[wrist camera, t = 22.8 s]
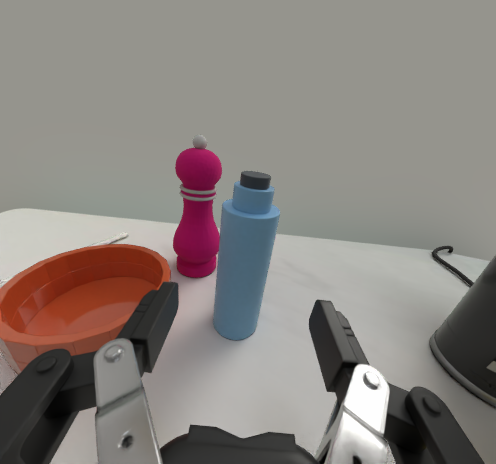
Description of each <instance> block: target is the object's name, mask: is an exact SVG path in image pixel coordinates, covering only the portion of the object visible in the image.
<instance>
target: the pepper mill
mask: <svg viewBox="0 0 496 464" xmlns="http://www.w3.org/2000/svg"><path fill="white" fill-rule="evenodd" d="M193 145H194V147H195V148H190V149H187V150H185V151H183V152H182V153H180V155H179V156H178V158H177V160H176V167H175V169H176V174H177V176H178V177H179V178H180V180H181V181H182V183H183V184H181V185H180V189H181V192H180V195H181V196H182V197H183V201H184V210H183V215H182V219H181V221H180V224H179V226H178V228H177V230H176V232H175V235H174V239H173V248H174V251H175V252H176V254H177V255H178V256H177V269H178V271H179V272H180V273H181V274H183V275H185V276H188V277H194V278H197V277H204V276H207V275H209V274H211V273H212V272H213V271H214V270H215V268H216V254H217V253H218V251H219V241H220V236H219V232H218V229H217V227H216V225H215V222H214V219H213V212H212V204H213V199H215V198H216V191H217V188H216V187H215V184H216V183H217V182H218V181H219V179H220V178H221V174H222V167H221V163H220V160H219V158H218V157H217V156H216V155H215V154H214V153H213V152H211V151H209V150H206V149H205V148H206V146H207V140H206V138H205V137H204V136H202V135H196V136H195V137H194V139H193Z"/></svg>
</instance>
